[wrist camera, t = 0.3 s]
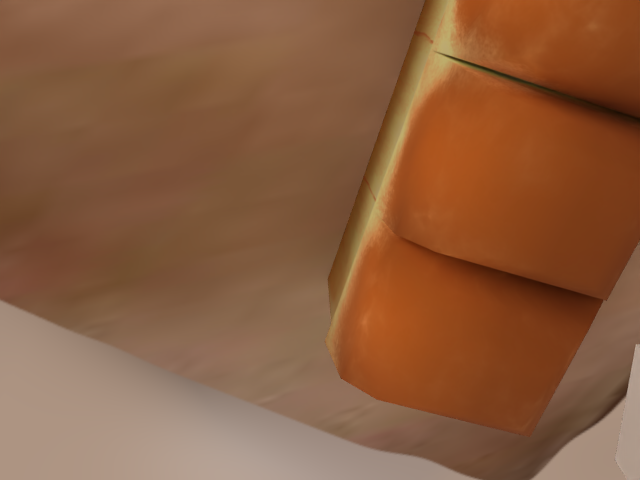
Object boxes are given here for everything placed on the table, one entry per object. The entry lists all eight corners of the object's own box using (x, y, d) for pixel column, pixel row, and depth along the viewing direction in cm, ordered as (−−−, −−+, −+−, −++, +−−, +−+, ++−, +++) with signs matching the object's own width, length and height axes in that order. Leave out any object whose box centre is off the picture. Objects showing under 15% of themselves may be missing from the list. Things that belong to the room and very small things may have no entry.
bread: (489, 327, 43) (573, 483, 30) (321, 282, 42) (329, 426, 28) (664, -42, 34) (901, -62, 21) (460, -118, 33) (571, -195, 19)
